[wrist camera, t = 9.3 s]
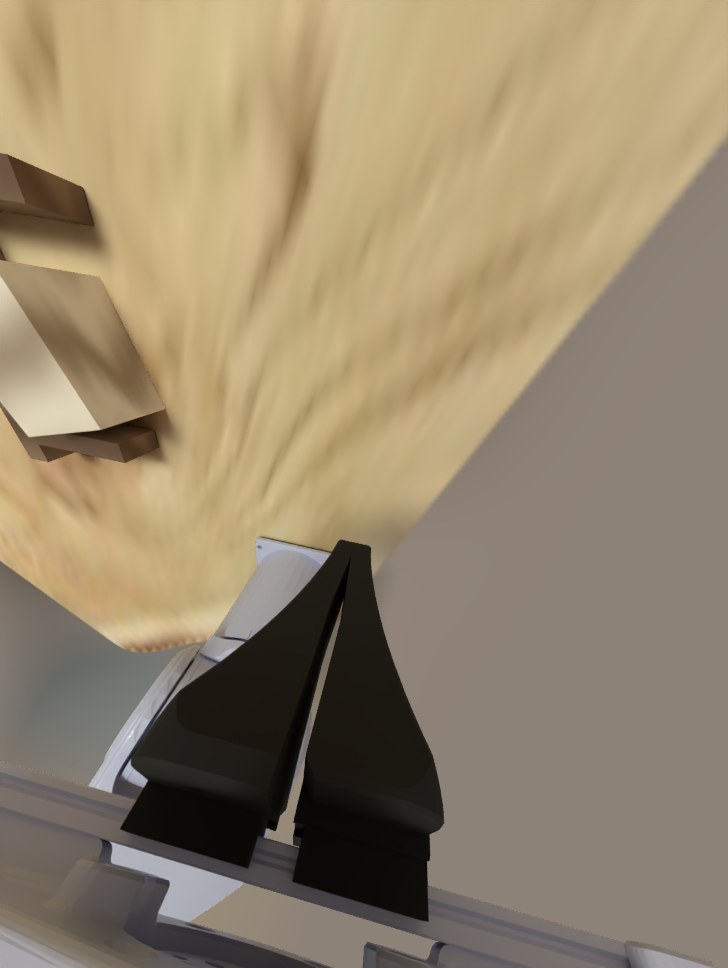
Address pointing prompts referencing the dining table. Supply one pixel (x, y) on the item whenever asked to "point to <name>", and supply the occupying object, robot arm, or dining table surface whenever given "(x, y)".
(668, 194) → the dining table surface
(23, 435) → the walnut stop
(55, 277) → the maple block
